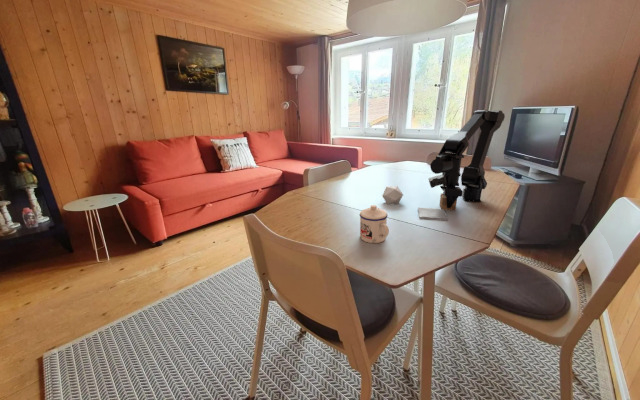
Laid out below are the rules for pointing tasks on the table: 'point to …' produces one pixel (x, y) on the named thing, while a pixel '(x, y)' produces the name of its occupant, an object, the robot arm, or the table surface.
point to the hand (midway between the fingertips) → (447, 205)
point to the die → (392, 195)
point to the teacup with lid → (373, 225)
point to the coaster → (432, 213)
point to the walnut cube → (444, 203)
